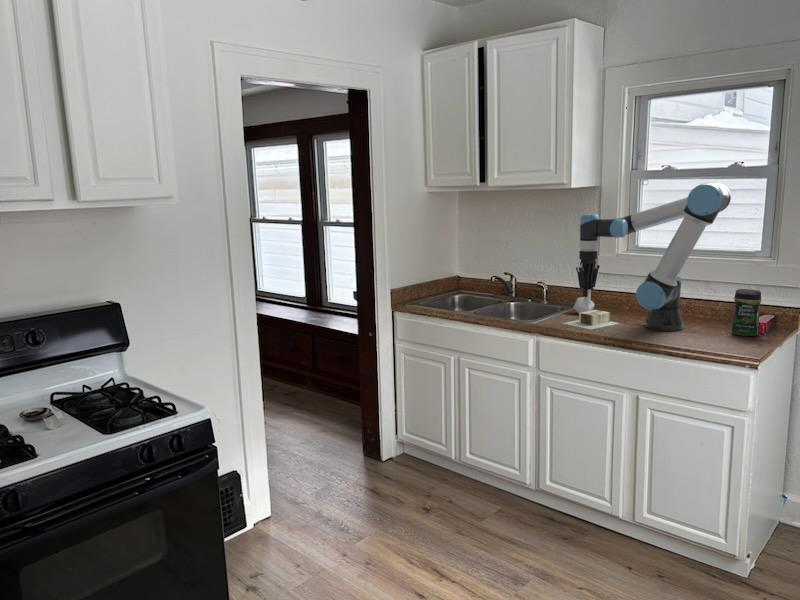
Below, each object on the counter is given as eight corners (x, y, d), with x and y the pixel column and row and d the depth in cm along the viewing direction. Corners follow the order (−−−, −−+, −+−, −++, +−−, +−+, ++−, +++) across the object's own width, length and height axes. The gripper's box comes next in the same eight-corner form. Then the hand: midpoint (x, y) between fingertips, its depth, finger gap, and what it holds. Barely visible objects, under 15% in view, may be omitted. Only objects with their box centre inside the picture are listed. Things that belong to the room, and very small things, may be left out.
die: (592, 318, 305) (600, 299, 308) (575, 309, 305) (583, 290, 307) (584, 321, 314) (592, 303, 316) (568, 312, 313) (575, 294, 316)
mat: (619, 324, 289) (619, 323, 289) (590, 330, 279) (590, 329, 279) (590, 318, 302) (590, 317, 302) (562, 323, 292) (562, 323, 292)
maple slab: (593, 325, 285) (609, 322, 291) (593, 315, 285) (610, 312, 291) (578, 322, 292) (595, 319, 298) (579, 312, 291) (595, 309, 297)
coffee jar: (729, 335, 264) (732, 289, 261) (733, 331, 271) (736, 287, 267) (756, 338, 259) (760, 291, 255) (760, 334, 265) (763, 288, 262)
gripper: (591, 248, 290) (590, 301, 294) (571, 250, 283) (570, 304, 287) (605, 249, 283) (603, 303, 288) (585, 252, 276) (583, 307, 281)
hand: (586, 303), depth 287 cm, fingers closed
